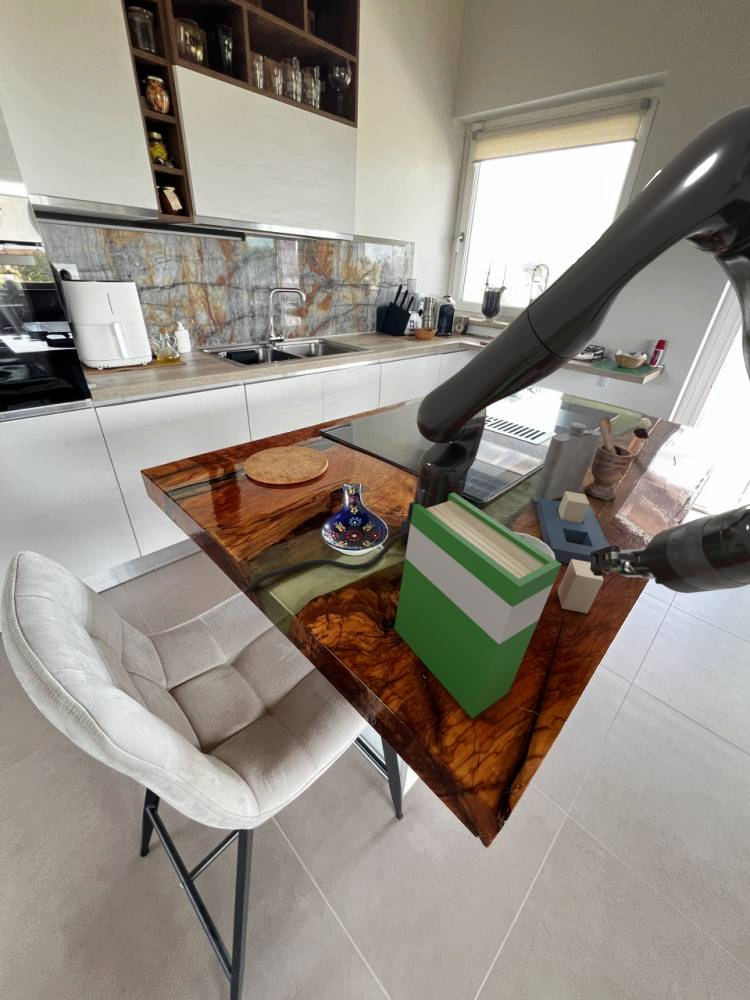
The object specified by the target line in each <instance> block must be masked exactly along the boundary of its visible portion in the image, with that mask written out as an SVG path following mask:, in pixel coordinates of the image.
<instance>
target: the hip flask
mask: <svg viewBox="0 0 750 1000" xmlns="http://www.w3.org/2000/svg"><path fill="white" fill-rule="evenodd" d="M601 437H602V434H601V431H598V430H593V429H587V426H586V425H585V424H583V423H579V422H571V423H570V425H569V431H568V432H563V433H558V434H556V435H553V436H552V438H551V441H550V444H549V448H548V450H547V453H546V456H545V460H544V462H543V466H542V469H541V471H540V474H539V478H538V481H537V484H536V487H535V490H534V493H533V496H532V501H533V502H534V503H536V504H538V502H539V499H540V498H542V499H548V500H553V501H554V500H556V499H560V498H563V496H564V493H565V491H568V492H574V493H579V494H580V490H581V487H582V485H583V483H584V480H585V477H586V475H587V472H588V470H589V467H590V466H591V465H590V464H591V462H592V461H593V457H594V456H595V453H596V450H597V448H598V445H599V441H600V439H601Z"/></svg>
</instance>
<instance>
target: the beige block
mask: <svg viewBox="0 0 750 1000" xmlns="http://www.w3.org/2000/svg"><path fill="white" fill-rule="evenodd" d="M590 567H591V563H590V562H585V561H580V560H575V559H571V561H570V563H569V564H568V566H567V569H566V570H565V573H564V575H563V578H562V580H561V583H560V585H559V587H558V589H557V595H558V599H559V603H560V607H561V609H564V610H569V611H573V612H578V613H583V614H588V613H589V611H590V609H591V608H592V605H593V604H594V601H595V599H596V597H597V595H598V593H599V591H600V589H601V588H602V585H603V583H604V581H605V580H604V577H603V576H594V574H593V572H592V571H591V570H590Z"/></svg>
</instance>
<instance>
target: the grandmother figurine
mask: <svg viewBox="0 0 750 1000" xmlns="http://www.w3.org/2000/svg"><path fill="white" fill-rule="evenodd" d="M638 426H639V427H636V428H635V429H634V430H633V431H632V432H631V433H630V436H631V437H633V438H632V440H631V442H630V444H629V446H628V448H627V449H629V450H630V451H632V452H633V453H634V457H637V456H638V454H637V453H638V451H639V449H640V448H641V445H642V441H643V443H644V444H645V445H646V444H648V443H649V438H650V437H649V433H648V431H647V429H648V428H649V427H652V422H651V420H650V419H649V418H648V417H643V418H641V419H640V422H639V425H638Z"/></svg>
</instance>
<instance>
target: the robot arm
mask: <svg viewBox="0 0 750 1000" xmlns="http://www.w3.org/2000/svg"><path fill="white" fill-rule="evenodd" d="M681 241H685V242H686V243H688V244H689V245H691V246H692V248H695V249H696V250H697V251H700V252H703V253H706V254H707V255H708V256H709V258H711V259H712V260H713V261H714V263H715V264H716V265H717V267H719V269H720V270H721V271H722V273H723V274H724V276H725V277H726V279H727V280H728V282H729V283H730V285H731V287H732V289H733V291H734V292H735V295H736V298H737V300H738V304H739V308H740V312H741V348H742V355H743V361H744V362H743V363H744V367H745V370H746V373H747V377H748V380H749V382H750V104H748V105H742V106H740V107H737V108H734V109H733V110H730V111H728V112H726V113H724V114H723V115H720V116H719V117H718V118H716V119H715V120H713V121H712V122H710V123H709V124H708V125H707V126H705V127H704V128H702V130H700V131H699V132H698V133H697V134H695V135H694V136H693V137H692V138H691V139H689V140H688V141H687V142H686V143H685V144H684V145H683V146H682V147H681V148H680V149H679V150H678V151H677V152H676V153H675V155H673V157H671V158H670V159H669V161H668V162H666V164H664V166H663V167H662V168H661V169H660V170H658V172H657V173H656V174H655V176H654V177H653V178H652V179H651V180H649V182H648V183H647V184H646V185H645V186H644V187H643V189H642V190H641V191H640V192H639V193H638V194H637V195H636V197H634V198H633V200H632V201H630V203H629V204H628V205H627V206H626V207H625V209H623V211H622V212H621V213H620V214H619V215H618V216H617V217H616V218H615V220H614V221H613V222H611V224H610V225H609V226H608V227H607V228H606V229H605V230H604V231H603V233H602V234H601V235H600V236H598V238H597V239H596V240H595V241H594V242H593V243H592V244H591V245H590V246H589V247H588V248H587V249H586V250H585V251H584V252H583V253H582V254H581V255H580V256H579V257H577V258H576V260H575V261H574V262H573V263H572V264H570V266H569V267H567V269H566V270H564V271H563V272H562V273H561V274H560V275H559V277H557V278H556V280H554V281H553V282H552V283H551V284H550V285H549V286H548V287H547V288H545V289H544V290H543V291H542V292H541V293H540V294H538V295H537V296H536V297H535V298H534V299H533V300H532V301H531V302H530V303H529V304H527V305H526V307H524V308H523V309H522V310H521V311H520V312H519V313H517V315H516V316H515V317H514V318H513V319H511V320H510V322H509V323H508V324H507V325H506V326H505V327H504V328H503V329H502V330H501V331H500V332H499V333H498V334H496V335H495V337H493V338H492V339H491V340H490V341H489V342H488V343H487V344H486V345H485V346H483V348H482V349H480V350H479V352H478V353H477V354H476V355H474V356H473V357H472V358H471V359H470V361H468V363H466V364H465V365H464V366H463V367H462V368H461V369H459V370H458V371H457V372H455V373H454V374H453V375H451V376H450V377H449V378H448V379H446V380H445V381H444V382H442V383H440V385H438V386H436V388H433V390H431V391H430V392H429V393H428V394H426V396H425V397H423V399H422V401H421V402H420V404H419V406H418V409H417V413H416V414H417V415H416V426H417V429H418V431H419V433H420V435H421V436H422V438H424V439H426V440H427V441H428V442H431V443H433V444H432V445H431V446H430V447H429V448H428V449H426V450H425V451H424V452H423V453H422V455H421V456H420V461H419V466H418V474H417V479H416V485H415V492H414V499H413V501H410V502H409V504H408V510H407V518H405V519H402V520H401V523H400V530H401V532H400V533H398V534H397V535H395V536H394V537H392V538H391V540H389V541H388V542H387V544H386V545H385V547H384V548H382V549H381V550H380V551H379V552H378V553H377V554H376V555H375V556H374V557H372V558H371V559H370V560H368V561H365V562H362V563H357V564H351V563H346V562H340V561H338V560H334V559H329V558H317V559H309V560H305V561H301V562H298V563H294V564H292V565H288V566H287V567H286V566H285V567H283V568H279V569H275V570H272V571H269V572H265V573H263V574H262V575H260V576H258V577H257V578H255V579H254V580H253V581H251V583H250V584H249V585H248V586H247V588H246V589H245V591H246V593H247V592H248V593H250V592H252V591H254V590H255V588H256V587H257V586H258V585H260V584H261V583H262V582H264V581H266V580H267V579H269V578H273V577H275V576H279V575H283V574H286V573H289V572H292V571H294V570H298V569H301V568H304V567H308V566H313V565H314V566H315V565H329V566H333V567H337V568H340V569H346V570H361V569H362V570H363V569H365V568H369V567H371V566H373V565H375V563H377V562H378V561H379V560H380V559H381V558H382V557H383V556H385V555H386V554H387V553H388V552H389V550H390V549H391V548H392V547H393V546H394V544H395V543H397V542H398V541H400V540H401V539H403V538H404V541H405V542H406V544H408V537H409V531H410V524H411V518H412V512H413V505H416V504H420V505H421V506H423V507H424V508H425V509H426V508H429V507H432V506H435V505H438V504H442V503H445V502H448V497H449V494H451V493H455V494H457V495H458V496H460V497H461V498H463V495H464V491H465V487H466V486H465V485H466V483H467V478H468V473H469V471H470V468H471V467H472V466H473V464H474V463H475V461H476V458H477V455H478V451H479V448H480V444H481V441H482V437H483V435H484V430H485V427H486V421H487V408H488V407H489V406H491V405H493V404H496V403H498V402H499V401H502V400H504V399H506V398H509V397H511V396H513V395H515V394H517V393H519V392H521V391H524V390H525V389H527V388H529V387H532V386H534V385H535V384H537V383H539V382H541V381H543V380H544V379H546V378H548V377H550V375H552V374H554V373H555V372H556V371H558V370H559V369H561V368H562V367H563V366H565V365H567V364H568V363H569V362H571V361H573V359H575V358H577V356H579V355H580V354H582V353H583V352H584V351H585V350H586V349H587V348H588V347H589V346H590V345H591V344H592V343H593V341H594V340H595V339H596V337H597V335H598V334H599V332H600V331H601V330H602V327H603V325H604V324H605V322H606V320H607V318H608V316H609V314H610V313H611V311H612V309H613V306H614V305H615V303H616V301H617V300H618V298H619V296H620V295H621V294H622V292H623V290H624V289H626V288H627V286H628V285H629V284H630V283H631V282H632V281H633V280H634V279H635V278H636V277H637V276H638V275H639V274H640V273H641V272H643V270H645V269H646V268H647V267H648V266H650V265H651V264H652V263H653V262H654V261H655V260H657V259H658V258H659V257H661V256H662V255H663V254H665V253H666V252H667V251H669V250H670V249H672V248H673V247H674V246H676V245H677V244H678V243H680V242H681ZM608 546H609V547H606V548H602V549H599V550H596V551H593V552H590V556H591V567H590V570H591V571H592V572H593V574H594V576H602V577H603V576H606V575H610V574H612V575H613V574H614V575H615V574H616V575H617V574H618V575H619V576H621V577H624V578H645V579H647V580H654V582H655V584H656V585H662V586H664V587H665V588H667V589H669V590H671V591H674V592H676V593H681V594H692V593H703V592H713V591H721V590H730V589H738V588H741V587H746V586H748V585H750V503H748V504H744V505H741V506H739V507H735V508H732V509H730V510H727V511H724V512H721V513H717V514H711V515H706V516H701V517H698V518H696V519H693V520H690V521H688V522H685V523H682V524H679V525H676V526H673V527H670V528H667V529H665V530H662V531H659V532H658V533H657V534H655V535H654V536H653V537H652V538H651V539H650V541H649V543H648V544H647V545H645V546H641V547H640V548H631V549H621V548H622V547H621V546H620V545H617V544H612V545H608ZM630 567H631V568H632V569H633V570H634V571H630Z"/></svg>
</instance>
